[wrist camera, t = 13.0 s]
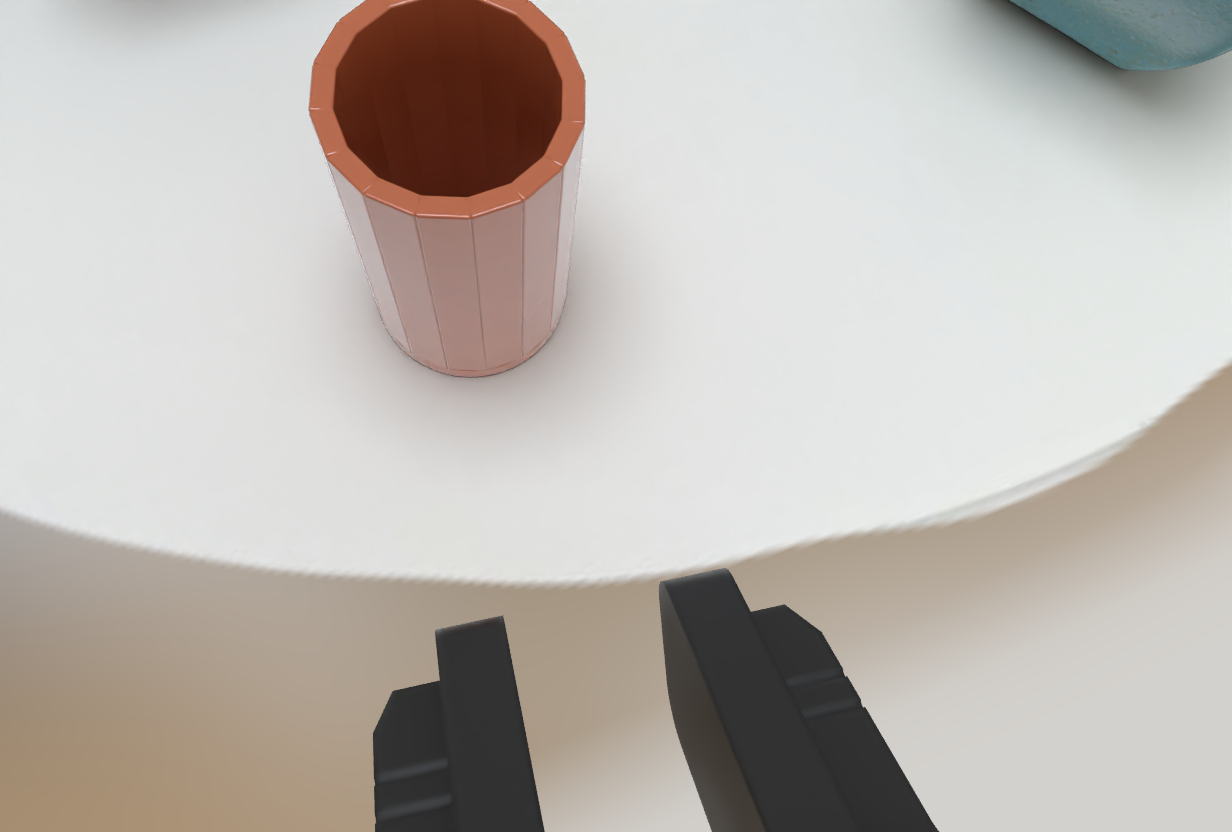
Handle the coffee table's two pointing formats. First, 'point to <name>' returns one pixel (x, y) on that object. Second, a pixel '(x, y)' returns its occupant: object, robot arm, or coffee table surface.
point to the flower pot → (1142, 29)
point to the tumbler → (455, 171)
